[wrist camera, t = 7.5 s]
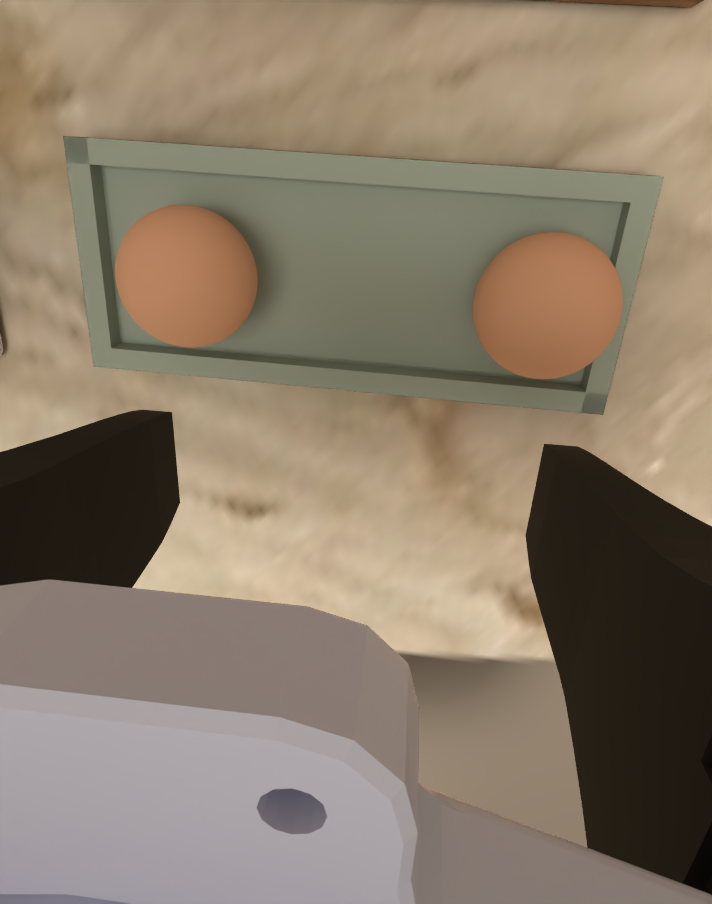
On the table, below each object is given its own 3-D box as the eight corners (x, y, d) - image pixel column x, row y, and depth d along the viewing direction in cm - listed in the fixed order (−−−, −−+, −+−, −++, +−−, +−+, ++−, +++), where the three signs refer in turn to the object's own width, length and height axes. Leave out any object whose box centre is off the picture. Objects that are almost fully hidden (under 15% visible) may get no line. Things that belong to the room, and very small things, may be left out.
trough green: (109, 356, 22) (93, 366, 21) (83, 137, 19) (63, 136, 18) (594, 401, 21) (602, 414, 20) (649, 175, 18) (663, 176, 17)
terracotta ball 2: (436, 363, 19) (534, 409, 16) (453, 223, 17) (567, 245, 14) (530, 349, 21) (633, 388, 18) (554, 222, 19) (673, 242, 16)
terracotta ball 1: (155, 322, 21) (98, 358, 17) (144, 195, 19) (78, 204, 16) (271, 333, 21) (238, 371, 17) (271, 204, 19) (234, 216, 15)
